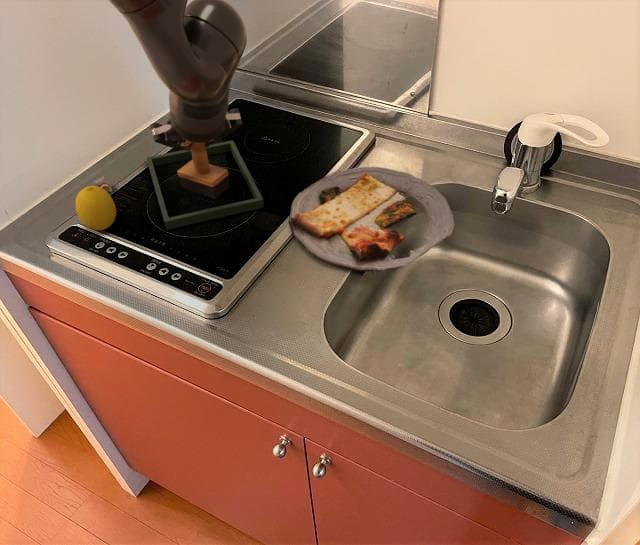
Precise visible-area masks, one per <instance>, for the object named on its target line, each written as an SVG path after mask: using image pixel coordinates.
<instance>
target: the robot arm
mask: <svg viewBox="0 0 640 545" xmlns="http://www.w3.org/2000/svg"><path fill="white" fill-rule="evenodd" d="M108 2H109V3H110V4H111V5H112V6H113V7H114V8H115V9H116V10H117V11H118V12H119V13H120V14H121V15H122V16H123V17H124V18H125V20H126V21H127V23H128V25H129V26H130V28H131V30H132V32H133V34H134V36H135V37H136V38H137V40H138V42H139V44H140V46H141V48H142V49H143V51H144V54H145V55H146V58H147V60H148V61H149V63H150V65H151V67H152V68H153V71H154V72H155V74H156V75H157V76H158V78H159V79H160V81H161V82H162V83H163V84H164V85H165V87H166V88H167V89H168V90H169V93H168V104H169V118H168V119H167V120H166V124H165V123H159V122H153V123H150V125H149V126H150V130H151V134H152V137H153V141H154V142H155V143H156V144H159V145H162V146H165V147H168V148H177V147H178V146H179V145H180V148H181V149H182V150H186V151H190V150H191V143H193V142H196V143H203V142H205V145H206V147H209V145H212V143H213V144H214V141H215V140H216V138H217V137H218V138H219V139H225V138H226V137H228V136H229V135H230V134H232V133H233V132H234V131H236V130H237V129H239V128H240V127H242V126H243V122H242V121H243V120H242V117H241V113H240V109H239V108H238V107H234V108H231V109H229V105H230V104H229V95H230V90H231V88H230V87H231V83H232V79H233V77H234V75H235V72H236V71H237V68H238V67H239V64H240V62H241V59H242V57H243V55H244V52H245V49H246V47H247V42H248V32H247V28H246V25H245V22H244V20H243V18H242V16H241V15H240V13H239V12H238V11H237V10H236V8H235V7H234V6H233V5H232V4H230V3H229V2H227V1H226V0H191V1H190V2H189V0H108ZM188 2H189V3H188Z"/></svg>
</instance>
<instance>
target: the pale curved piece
mask: <svg viewBox="0 0 640 545" xmlns="http://www.w3.org/2000/svg"><path fill="white" fill-rule="evenodd" d="M104 179H105V176H101V177H99V178H98V179H94V180H93V181H94V183H96V185H95V186H97V187H100V188H102V189H104V190H106V191H107V192H108V193H111V192H113V187H112V186H111V185H110V184H109V183H106V182H104Z"/></svg>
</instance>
